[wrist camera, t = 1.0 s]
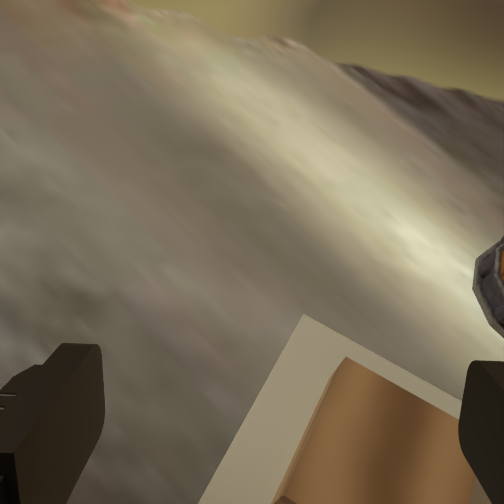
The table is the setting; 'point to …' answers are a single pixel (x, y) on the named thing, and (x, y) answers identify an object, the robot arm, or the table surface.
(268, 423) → the build mat
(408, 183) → the table surface
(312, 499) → the walnut base
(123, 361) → the table surface
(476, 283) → the mug
